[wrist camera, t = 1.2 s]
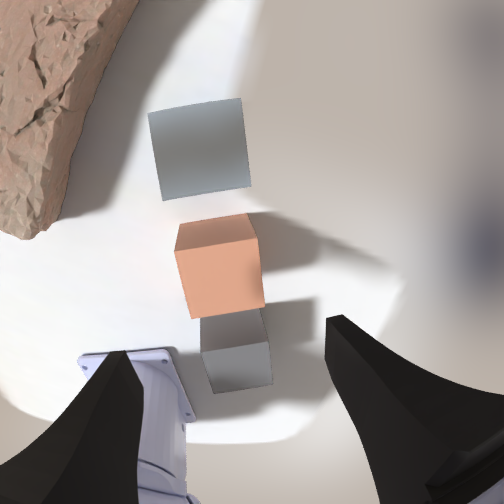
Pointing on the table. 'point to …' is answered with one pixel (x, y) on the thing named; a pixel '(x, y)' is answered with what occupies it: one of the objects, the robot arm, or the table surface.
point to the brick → (48, 98)
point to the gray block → (235, 351)
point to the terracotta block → (219, 266)
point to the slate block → (200, 148)
